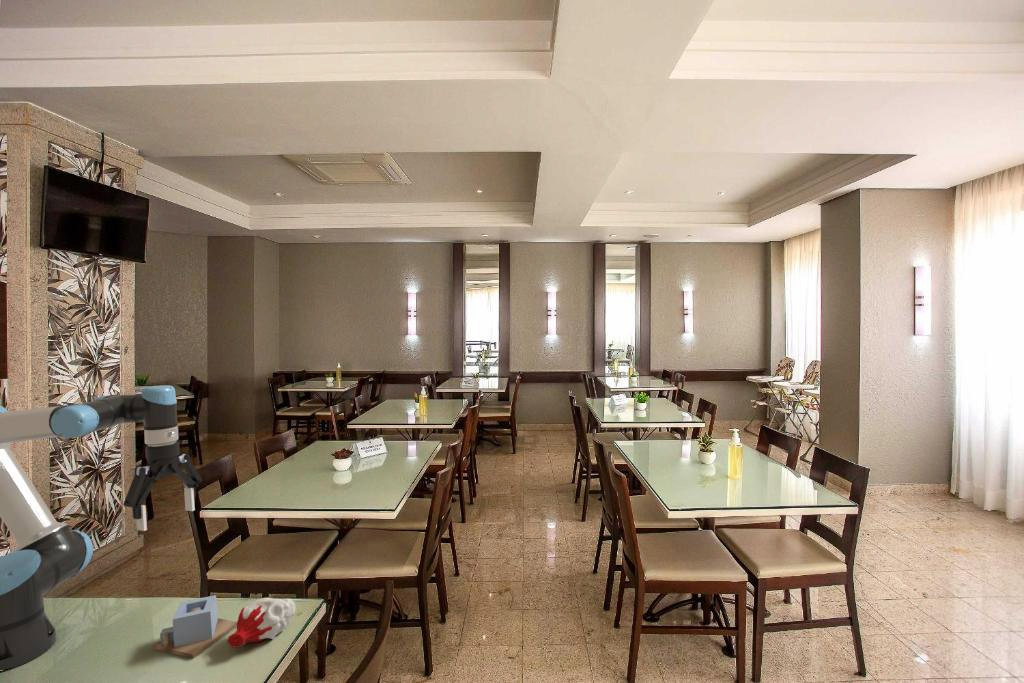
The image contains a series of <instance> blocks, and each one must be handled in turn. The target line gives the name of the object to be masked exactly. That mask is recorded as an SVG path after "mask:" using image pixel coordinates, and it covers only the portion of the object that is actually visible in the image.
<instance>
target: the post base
mask: <svg viewBox="0 0 1024 683" xmlns="http://www.w3.org/2000/svg"><path fill="white" fill-rule="evenodd" d="M198 610H201V608H200V607H198V608H194V609H192V610H190V612H194V611H198ZM235 629H237V621H233V620H228V619H224V618H218V622H217V625H216V628H215V631H214V634H213V638H212V639H208V640H204V641H199V642H195V643H191V644H186V645H182V646H178V647H175V646H174V641H173V642H169V645H168V646H166V647H164V646H163V644H161V641H160V640H159V641H158V642H156V643H155V644H153V645H152V646H153V647H152V648H153V650H157V651H159V652H165V653H169V654H173V655H177V656H181V657H185V658H189V659H195V658H197V656H199V655H200V654H202V653H203V652H204V651H206V650H208V649H209V648H211V646H213V645H214V644H216V643H217V642H218V641H220V640H221V639H223V638H224V637H225V636H226V635H229V634H230V633H231V632H232V631H234V630H235Z"/></svg>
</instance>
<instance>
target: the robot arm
mask: <svg viewBox="0 0 1024 683" xmlns="http://www.w3.org/2000/svg"><path fill="white" fill-rule="evenodd" d="M176 396H177V395H176V389H175V387H174V386H172V385H170V384H169V385H165V384H164V385H163V384H162V385H153V386H147V387H146V386H145V387H144V388H142V390H141V393H140V394H110V395H109V394H108V395H100V396H99V397H96V399H95V400H93V401H86V402H82V403H75V404H74V403H73V404H64V405H58V406H48V407H47V406H46V407H39V408H29V409H21V410H11V411H9V410H8V409H7V408H6V407H4V406H2V405H0V518H1V520H2V521H3V523H4V524H5V526H6V527H7V528H6V529H8V531H9V532H10V534H11V535H12V537H13V539H14V540H15V541H16V546H15V548H14V550H13V551H12V552H9V553H7V554H6V555H1V556H0V670H5V669H8V670H10V669H9V668H11V669H14V668H16V667H20V666H22V665H24V664H26V663H28V662H30V661H32V660H34V659H36V658H39V657H40V656H42V655H43V654H45V653H46V652H47V651H48V649H49V648H50V649H51V648H52V647H53V646H54V645H55V644H56V642H57V639H56V638H57V631H56V627H54V624H53V623H52V622H51V621H52V620H50V618H49V616H47V614H46V611H45V600H44V599H45V598H44V595H46V594H47V593H49V592H51V591H52V590H54V589H55V588H57V587H58V586H60V585H62V584H63V583H65V582H66V581H67V580H69V579H72V578H73V577H75V576H77V575H78V574H79V572H81V571H82V570H84V569H85V568H86V567H87V565H88V564H89V563H90V562H91V558H92V557H93V553H94V546H93V545H94V544H93V542H92V539H91V538H90V536H89V535H88V534H87V533H85V532H84V531H80V530H78V529H71V528H70V526H69V525H68V523H65V522H58V521H57V520H56V518H55V516H54V515H53V513H52V512H51V510H50V509H49V507H48V505H47V504H46V503H45V501H44V499H43V498H42V496H41V495H40V493H39V491H38V490H37V488H36V487H35V485H34V484H33V483H32V482H33V481H31V479H30V478H29V476H28V475H27V473H26V472H25V470H24V469H23V467H22V465H21V464H20V462H19V461H18V459H17V457H16V455H15V454H14V452H13V451H12V450H11V445H12V443H17V442H26V441H34V440H35V441H36V440H44V439H51V438H52V439H53V438H60V437H62V438H64V439H74V438H78V437H84V436H87V435H89V434H91V433H95V432H97V431H100V430H104V429H107V428H111V427H115V426H118V425H121V424H129V423H143V431H144V432H143V433H144V444H146V446H145V447H144V448H145V459H146V461H147V463H146V466H136V467H134V474H133V478H132V480H131V483H130V486H129V489H128V492H127V494H126V496H125V499H124V501H123V503H122V504H123V507H129V508H131V510H132V518H133V519H134V520H135V522H136V523H135V524H136V526H135V527H136V530H137V531H142V532H145V531H147V530H148V527H147V526H148V525H147V524H148V523H147V508H146V505H145V504H144V503H145V501H146V499H147V497H148V496H149V494H150V493H151V491H152V490H153V488H154V486H155V484H156V483H157V482H159V481H160V480H161V479H165V478H167V477H172V476H175V478H177V479H178V480H179V481H180V482H182V483H183V484H184V485H185V487H184V488H183V494H184V495H183V496H184V506H185V507H184V508H185V509H184V510H185V511H187V512H188V511H189V512H194V511H195V510H196V508H195V498H196V496H197V493H196V492H197V491H196V490H197V489H196V488H198V487H199V483H202V482H203V479H202V477H201V476H200V474H199V473H198V471H197V469H196V467H195V465H194V464H193V463H192V460H191V455H190V454H187V453H180V443H179V441H178V440H179V425H178V415H177V414H178V412H177V411H178V408H177V407H178V406H177V403H178V400H177V397H176ZM179 464H181V467H182V468H183V469H184V471H185V472H186V473H185V472H184V471H183V469H181V468H180V467H179ZM54 643H55V644H54ZM53 644H54V645H53ZM52 645H53V646H52ZM51 646H52V647H51ZM50 649H49V650H50ZM5 671H6V670H5Z"/></svg>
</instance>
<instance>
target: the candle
mask: <svg viewBox="0 0 1024 683" xmlns="http://www.w3.org/2000/svg"><path fill="white" fill-rule="evenodd" d="M296 610H297V607H296V602H295V600H293V599H292V598H282V599H279V598H272V597H262V598H259V599H256V600H255V601H253V602H251V603H249V604H248V605H246V606H245V607H242V609H241V610H240V612H239V615H238V618H237V620H236V622H237V627H236V630H235V631H234V632H233V633H232V634H230V635H229V636H228V638H227V640H226V641H227V644H228V645H229V646H231V647H232V648H234V647H237V648H239V647H241V646H244V645H245V644H246V643H259V642H261V641H264V640H265V639H271V640H273V639H274V638H275V637H276V636H277V635H278V634H280V633H281V632H282V631H283V630H285V629H286V628H287V627H288V625H289V624H290V622H291V619H292V618H293V617H294V616H295V614H296Z"/></svg>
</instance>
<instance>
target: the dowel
mask: <svg viewBox="0 0 1024 683" xmlns="http://www.w3.org/2000/svg"><path fill="white" fill-rule="evenodd" d="M168 645H169V633H168V632H165V633H163V646H164V647H166V646H168Z"/></svg>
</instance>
